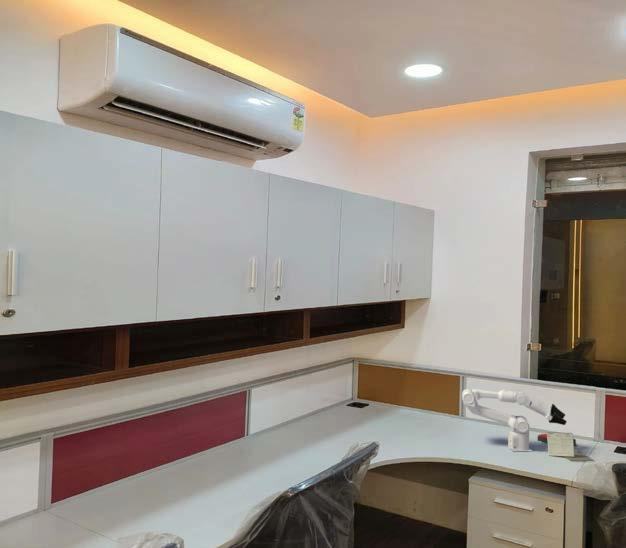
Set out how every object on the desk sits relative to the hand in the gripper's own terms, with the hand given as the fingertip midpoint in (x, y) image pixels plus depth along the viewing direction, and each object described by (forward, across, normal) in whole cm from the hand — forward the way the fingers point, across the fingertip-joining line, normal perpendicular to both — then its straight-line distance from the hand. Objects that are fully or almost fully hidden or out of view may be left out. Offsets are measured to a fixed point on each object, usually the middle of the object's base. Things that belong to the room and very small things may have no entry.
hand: (565, 419), depth 275 cm
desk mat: (+10, -8, +12) cm, 17 cm away
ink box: (+4, -10, +14) cm, 17 cm away
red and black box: (+6, +12, +19) cm, 23 cm away
